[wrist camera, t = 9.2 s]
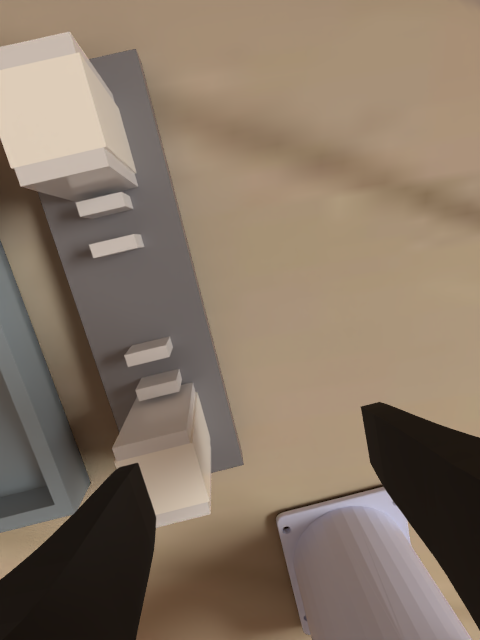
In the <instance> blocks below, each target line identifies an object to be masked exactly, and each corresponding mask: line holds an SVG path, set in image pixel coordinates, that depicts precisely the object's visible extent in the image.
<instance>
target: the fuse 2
mask: <svg viewBox="0 0 480 640" xmlns="http://www.w3.org/2000/svg"><path fill="white" fill-rule="evenodd" d="M112 450H113V453H114V456H115V461H114V463H115V466H116V469H118V468H119V467H122V466H126V465H130V464H134V463H138V464H139V467H140V470H141V473H142V476H143V479H144V482H145V485H146V488H147V491H148V494H149V496H150V499H151V502H152V505H153V508H154V511H155V514H156V528H158V527H162V526H165V525H169V524H173V523H177V522H181V521H185V520H189V519H193V518H197V517H201V516H205V515H209V514H211V446H210V435H209V432H208V428H207V424H206V421H205V417H204V414H203V410H202V406H201V403H200V399H199V396H198V392H195V388H194V385H193V382H191V383H187V384H183V385H181V387H180V391H179V392H175V393H171V394H167V395H163V396H159V397H155V398H151V399H147V400H143V401H139V400H138V397H136V399H135V401H134V404H133V406H132V408H131V410H130V412H129V414H128V416H127V418H126V420H125V422H124V424H123V426H122V429H121V431H120V433H119V435H118V437H117V439H116V441H115V443H114V445H113V447H112Z"/></svg>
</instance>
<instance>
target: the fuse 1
mask: <svg viewBox="0 0 480 640" xmlns="http://www.w3.org/2000/svg"><path fill="white" fill-rule="evenodd" d="M0 138H1V141H2V144H3V147H4V150H5V153H6V155H7V158H8V161H9V164H10V167H11V169H14V170H15V172H16V175H17V178H18V180H19V183H20V186H21V187H24V188H27V189H31V190H35V191H38V192H42V193H45V194H49V195H53V196H56V197H60V198H63V199H67V200H71V201H74V202H77V201H81V200H85V199H89V198H94V197H98V196H102V195H107V194H111V193H115V192H119V191H124V190H128V189H132V188H137V187H138V184H137V180H136V177H135V174H136V173H137V172H136V169H135V165H134V161H133V158H132V154H131V151H130V147H129V143H128V140H127V136H126V133H125V129H124V125H123V122H122V118H121V115H120V111H119V108H118V106H117V105H116V104H115V102H114V98H113V94H112V93H111V91H110V90H109V88H108V87H107V85H106V84H105V82H104V81H103V80H102V78H101V77H100V75H99V74H98V72H97V71H96V69H95V68H94V66H93V65H92V63H91V62H90V61H89V59H88V58H87V56H86V55H85V53H84V52H83V50H82V49H81V47H80V46H79V44H78V43H77V42H76V40H75V39H74V37H73V36H72V34H71V33H70V32H65V33H61V34H56V35H52V36H47V37H43V38H38V39H34V40H29V41H25V42H20V43H16V44H11V45H7V46H3V47H0Z"/></svg>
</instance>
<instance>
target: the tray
mask: <svg viewBox="0 0 480 640" xmlns="http://www.w3.org/2000/svg"><path fill="white" fill-rule="evenodd" d="M90 483H91V482H90V480H89V477H88V474H87V471H86V469H85V466H84V463H83V461H82V458H81V455H80V453H79V450H78V447H77V445H76V442H75V439H74V437H73V434H72V431H71V429H70V426H69V423H68V420H67V418H66V415H65V412H64V410H63V407H62V404H61V402H60V399H59V396H58V394H57V391H56V388H55V386H54V383H53V380H52V378H51V375H50V372H49V369H48V367H47V364H46V361H45V359H44V356H43V353H42V351H41V348H40V345H39V343H38V340H37V337H36V335H35V332H34V329H33V327H32V324H31V321H30V318H29V316H28V313H27V310H26V308H25V305H24V302H23V300H22V297H21V294H20V292H19V289H18V286H17V284H16V281H15V278H14V276H13V273H12V270H11V267H10V265H9V262H8V259H7V257H6V254H5V251H4V249H3V246H2V243H1V241H0V533H1V532H5V531H9V530H13V529H17V528H21V527H25V526H29V525H33V524H37V523H41V522H45V521H49V520H53V519H57V518H61V517H65V516H69V515H73V514H74V513H75V512H76V511H77V509H78V507H79V505H80V503H81V501H82V499H83V497H84V495H85V493H86V491H87V489H88V487H89V485H90Z"/></svg>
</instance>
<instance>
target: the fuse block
mask: <svg viewBox="0 0 480 640" xmlns="http://www.w3.org/2000/svg"><path fill="white" fill-rule="evenodd" d="M89 61H90V62H91V63H92V65H93V66H94V68H95V69H96V71H97V72H98V74H99V75H100V77H101V78H102V80H103V81H104V82H105V84H106V85H107V87H108V88H109V90H110V91H111V93H112V94H113V98H114V102H115V104H116V105H117V106H118V108H119V111H120V115H121V118H122V122H123V125H124V129H125V133H126V136H127V140H128V143H129V147H130V151H131V154H132V158H133V161H134V165H135V169H136V172H137V173H136V174H135V177H136V180H137V184H138V187H137V188H132V189H128V190H124V191H119V192H115V193H111V194H107V195H102V196H98V197H94V198H89V199H85V200H81V201H77V202H74V201H71V200H67V199H63V198H60V197H56V196H53V195H49V194H45V193H42V192H38V194H39V197H40V200H41V203H42V206H43V209H44V212H45V215H46V218H47V221H48V224H49V227H50V230H51V233H52V236H53V238H54V241H55V244H56V247H57V250H58V253H59V256H60V259H61V262H62V265H63V268H64V271H65V274H66V277H67V280H68V283H69V286H70V288H71V291H72V294H73V297H74V300H75V303H76V306H77V309H78V312H79V315H80V318H81V321H82V324H83V327H84V330H85V333H86V336H87V339H88V341H89V344H90V347H91V350H92V353H93V356H94V359H95V362H96V365H97V368H98V371H99V374H100V377H101V380H102V383H103V386H104V389H105V392H106V394H107V397H108V400H109V403H110V406H111V409H112V412H113V415H114V418H115V421H116V424H117V427H118V430H119V433H120V431H121V429H122V426H123V424H124V422H125V420H126V418H127V416H128V414H129V412H130V410H131V408H132V406H133V404H134V401H135V399H136V397H138V400H139V401H143V400H147V399H151V398H155V397H159V396H163V395H167V394H171V393H175V392H179V391H180V387H181V385H183V384H187V383H191V382H193V385H194V388H195V392H198V396H199V399H200V403H201V406H202V410H203V414H204V417H205V421H206V424H207V428H208V432H209V435H210V446H211V473H213V472H217V471H221V470H225V469H229V468H233V467H237V466H241V465H244V464H243V457H242V451H241V447H240V443H239V439H238V435H237V432H236V428H235V424H234V420H233V416H232V412H231V408H230V405H229V401H228V397H227V393H226V389H225V385H224V381H223V377H222V374H221V370H220V366H219V362H218V358H217V354H216V350H215V346H214V343H213V339H212V335H211V331H210V327H209V323H208V319H207V315H206V312H205V308H204V304H203V300H202V296H201V292H200V288H199V284H198V281H197V277H196V273H195V269H194V265H193V261H192V257H191V254H190V250H189V246H188V242H187V238H186V234H185V230H184V226H183V223H182V219H181V215H180V211H179V207H178V203H177V199H176V195H175V192H174V188H173V184H172V180H171V176H170V172H169V168H168V164H167V161H166V157H165V153H164V149H163V145H162V141H161V137H160V134H159V130H158V126H157V122H156V118H155V114H154V110H153V106H152V103H151V99H150V95H149V91H148V87H147V83H146V79H145V75H144V72H143V68H142V64H141V61H140V58H139V56H138V53H137V51H136V49H133V50H128V51H124V52H119V53H115V54H110V55H106V56H102V57H97V58H93V59H89Z"/></svg>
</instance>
